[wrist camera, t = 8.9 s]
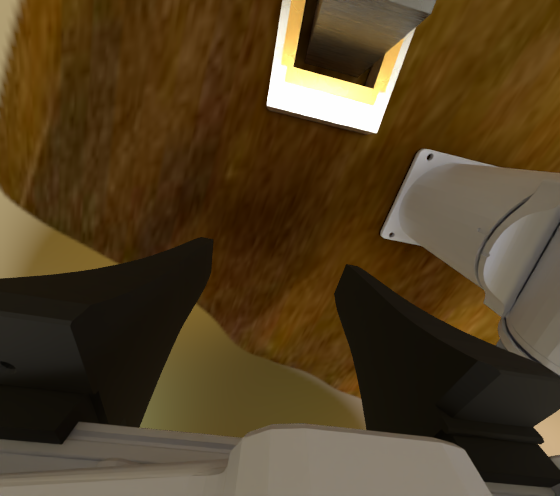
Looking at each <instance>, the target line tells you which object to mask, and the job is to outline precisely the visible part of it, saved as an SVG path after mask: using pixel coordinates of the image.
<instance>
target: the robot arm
mask: <svg viewBox="0 0 560 496" xmlns="http://www.w3.org/2000/svg"><path fill="white" fill-rule="evenodd" d="M429 154H430V158H429V159H428V160H427V156H428V155H429ZM392 232H393V234H392V235H391V236H389V234H390V233H392ZM380 235H381V236H382V237H383V238H385V239H390V240H395V241H400V242H405V243H410V244H415V245H420V246H422V247H424V248H425V249H427V250H428V251H430V252H431V253H432V254H434V255H435V256H437V257H438V258H439V259H441V260H442V261H444V262H445V263H447V264H448V265H449V266H451V267H452V268H454V269H455V270H457V271H458V272H459V273H461V274H462V275H464V276H465V277H466V278H468V279H469V280H471V281H472V282H474V283H475V284H476V285H478V286H479V287H481V288H482V289H483V290H485V294H486V295H485V300H484V304H486V305H487V306H488V307H489V308H491V309H492V310H493V311H495V312H496V313H497V314H498V315H500V316H501V317H502V318H501V320H500V322H499V324H498V333H499V337H500V339H501V341H502V343H503V345H504V346H505V347H506V349H507V350H508V351H507V350H505V349H502V348H499V347H497V346H495V345H492V344H490V343H488V342H485V341H483V340H481V339H478V338H476V337H474V336H472V335H470V334H467V333H465V332H463V331H461V330H459V329H457V328H455V327H453V326H451V325H449V324H447V323H445V322H443V321H441V320H439V319H437V318H435V317H434V316H432V315H430V314H428V313H427V312H425V311H423V310H421V309H420V308H418V307H416V306H415V305H413V304H412V303H410V302H408V301H407V300H405V299H404V298H402V297H401V296H399V295H398V294H396V293H395V292H394V291H392V290H391V289H389V288H388V287H387V286H385V285H384V284H382V283H381V282H380V281H378V280H377V279H376V278H374V277H373V276H371V275H370V274H369V273H367V272H366V271H364V270H363V269H361V268H359V267H358V266H353V265H348V264H346V266H345V269H344V271H343V274H342V276H341V278H340V281H339V283H338V286H337V288H336V291H335V293H334V295H335V301H336V307H337V311H338V314H339V317H340V320H341V323H342V326H343V329H344V332H345V335H346V338H347V341H348V343H349V346H350V350H351V353H352V356H353V361H354V365H355V369H356V374H357V379H358V384H359V389H360V394H361V399H362V405H363V411H364V417H365V423H366V429H367V430H360V429H350V428H341V427H332V426H323V425H312V424H304V423H302V424H301V423H299V424H272V425H269V426H266V427H263V428H260V429H257V430H254V431H251V432H249V433H247V434H246V435H245V436H244V437H243V438H239V437H228V436H218V435H208V434H197V433H188V432H178V431H168V430H157V429H148V428H147V429H146V428H139V427H140V424H141V422H142V419H143V417H144V414H145V412H146V409H147V406H148V404H149V401H150V399H151V397H152V394H153V392H154V389H155V387H156V384H157V381H158V380H159V377H160V374H161V372H162V370H163V367H164V365H165V363H166V361H167V358H168V356H169V354H170V352H171V349H172V347H173V345H174V343H175V341H176V338H177V336H178V334H179V332H180V330H181V328H182V326H183V324H184V322H185V321H186V319H187V317H188V316H189V314H190V312H191V311H192V309H193V307H194V306H195V304H196V302H197V300H198V299H199V297H200V295H201V294H202V292H203V290H204V288H205V286H206V284H207V281H208V279H209V276H210V274H211V266H212V252H213V239H208V238H203V237H200V238H197V239H194V240H192V241H190V242H187V243H185V244H182V245H180V246H177V247H175V248H172V249H170V250H167V251H164V252H161V253H158V254H155V255H153V256H149V257H146V258H143V259H139V260H135V261H131V262H127V263H123V264H118V265H113V266H108V267H103V268H98V269H92V270H85V271H78V272H70V273H63V274H54V275H43V276H30V277H18V278H3V279H0V496H560V455H555V456H551V457H548V456H547V455H546V453H545V452H544V451H543V450H542V449H541V448H540V446H539V445H538V444H542V443H544V440H543V438H542V436H541V435H540V434H539V433H538V432H537V431H536V430H535V429H534V428H533V427H534V426H535V425H537V424H538V423H540V422H541V421H543V420H544V419H546V418H547V417H549V416H550V415H552V414H553V413H555V412H556V411H558V410H559V409H560V173H553V172H543V171H533V170H522V169H512V168H502V167H497V166H493V165H489V164H485V163H481V162H477V161H473V160H469V159H465V158H461V157H457V156H454V155H450V154H446V153H442V152H438V151H434V150H430V149H421V150H419V151H418V152H417V154H416V156H415V158H414V160H413V162H412V165H411V167H410V169H409V171H408V173H407V175H406V178H405V180H404V182H403V184H402V186H401V188H400V191H399V193H398V195H397V197H396V199H395V201H394V204H393V206H392V208H391V210H390V212H389V214H388V217H387V219H386V221H385V223H384V225H383V227H382V230H381V232H380Z"/></svg>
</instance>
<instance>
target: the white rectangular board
mask: <svg viewBox="0 0 560 496" xmlns="http://www.w3.org/2000/svg"><path fill="white" fill-rule="evenodd" d="M305 2H306V0H282V6H281V13H280V20H279V26H278V33H277V40H276V46H275V53H274V59H273V66H272V73H271V79H270V86H269V93H268V99H267V108H268V110H270V111H274V112H278V113H282V114H286V115H290V116H294V117H298V118H302V119H306V120H310V121H314V122H318V123H322V124H326V125H330V126H334V127H338V128H342V129H346V130H350V131H354V132H358V133H362V134H366V135H367V134H375V133H377V131H378V128H379V126H380V123H381V120H382V118H383V115H384V112H385V109H386V107H387V104H388V101H389V99H390V96H391V93H392V90H393V88H394V85H395V82H396V80H397V77H398V74H399V71H400V69H401V66H402V63H403V60H404V58H405V55H406V52H407V50H408V47H409V44H410V41H411V39H412V36H413V33H414V31H415V28H416V27H415V28H414V29H413V30H412V31H411V32H409V33H408V34H407V35H406V36H405V37H404V38H403V39H401V40H400V41H399V42H398V43H397V44H396V45H395V46H393V47H392V48H391V49H390V50H389V51H388V52H387V53H385V54H384V55H383V56H382V57H381V58H380V59H379V60H377V61H376V62H375V63H374V64H373V65H372V66H371V69H370V72H369V75H368V78H367V81H366V85H365V86H361V85H357V84H354V83H350V82H346V81H343V80H339V79H335V78H332V77H328V76H324V75H321V74H317V73H313V72H310V71H306V70H302V69H299V68H295V67H294V61H295V56H296V51H297V45H298V40H299V34H300V29H301V24H302V18H303V13H304V8H305Z"/></svg>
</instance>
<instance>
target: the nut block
mask: <svg viewBox="0 0 560 496" xmlns="http://www.w3.org/2000/svg"><path fill="white" fill-rule="evenodd" d="M435 1H436V0H317V4H316V9H315V14H314V19H313V24H312V29H311V34H310V39H309V44H308V49H307V54H306V58H305V63H307V64H310V65H314V66H318V67H321V68H325V69H329V70H332V71H336V72H339V73H343V74H347V75H350V76H354V77H359V76H360V75H361V74H363V73H364V72H365V71H366V70H367V69H368V68H369V67H371V66H372V65H373V64H374V63H375V62H376V61H377V60H379V59H380V58H381V57H382V56H383V55H384V54H385V53H387V52H388V51H389V50H390V49H391V48H392V47H393V46H395V45H396V44H397V43H398V42H399V41H400V40H401V39H403V38H404V37H405V36H406V35H407V34H408V33H409V32H411V31H412V30H413V29H414V28H415V27H416V26H417V25H419V24H420V23H421V22H422V21H423V20H424V19H425V18H427V17H428V16H429V15H430V14H431V12H432V9H433V7H434V4H435Z"/></svg>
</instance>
